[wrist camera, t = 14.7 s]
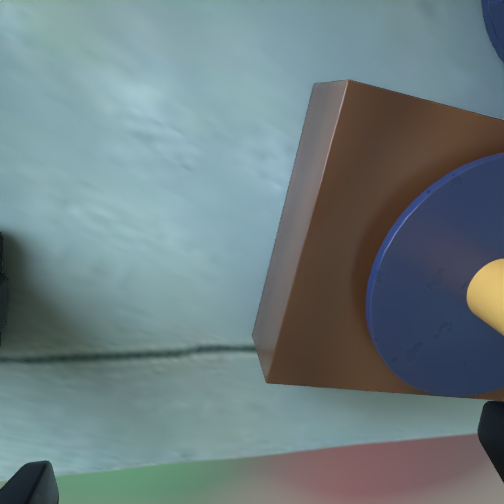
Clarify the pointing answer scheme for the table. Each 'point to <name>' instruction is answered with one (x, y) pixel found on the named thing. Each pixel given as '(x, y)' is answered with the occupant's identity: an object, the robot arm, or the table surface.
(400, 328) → the lid
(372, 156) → the block
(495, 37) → the tin
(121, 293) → the table surface
